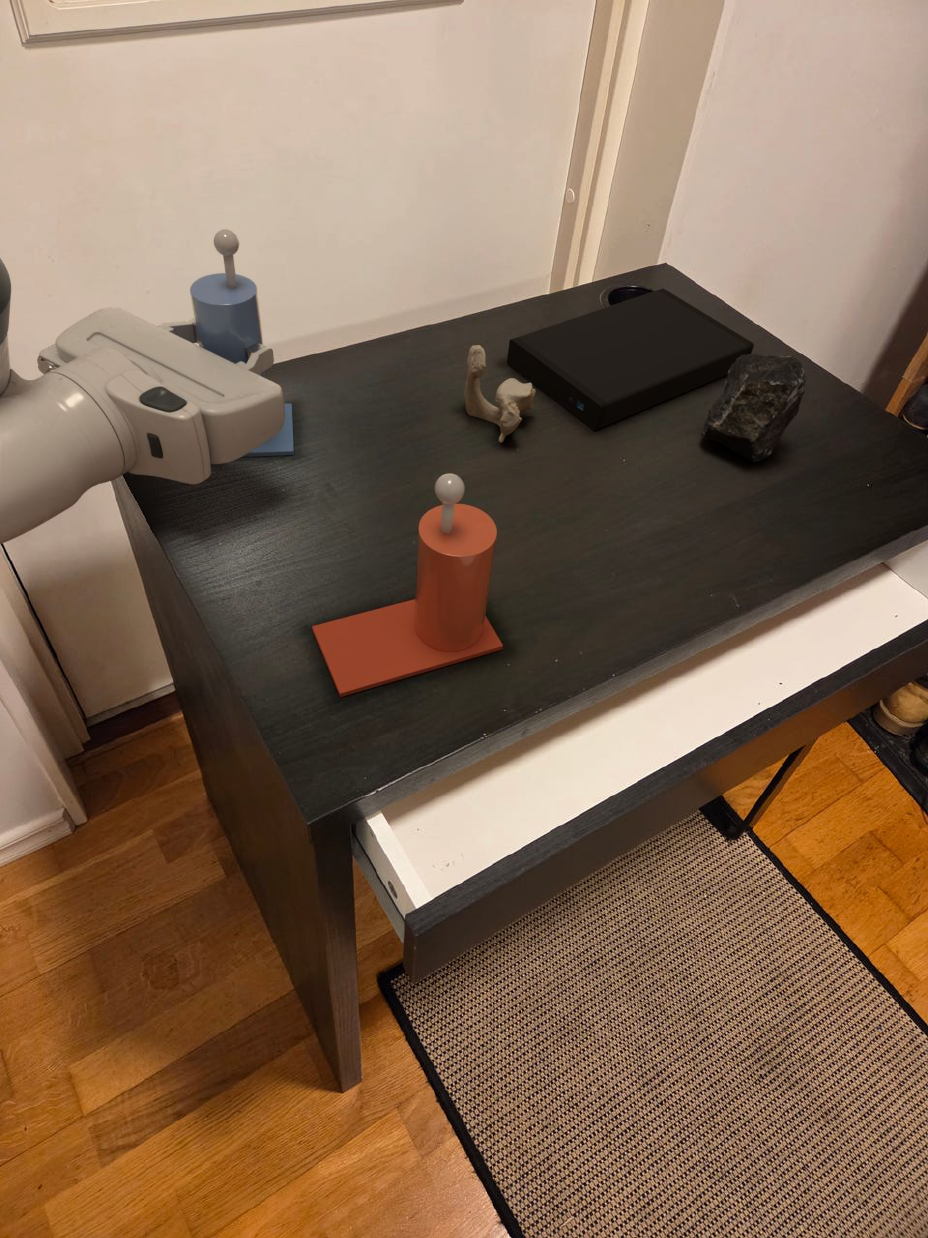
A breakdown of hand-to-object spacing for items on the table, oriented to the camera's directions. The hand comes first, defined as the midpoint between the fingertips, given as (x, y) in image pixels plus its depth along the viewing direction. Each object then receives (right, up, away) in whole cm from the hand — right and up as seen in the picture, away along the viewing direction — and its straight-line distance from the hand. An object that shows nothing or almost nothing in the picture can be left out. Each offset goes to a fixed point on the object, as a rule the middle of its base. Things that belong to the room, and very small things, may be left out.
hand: (238, 339), depth 75 cm
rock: (+47, -7, +11) cm, 49 cm away
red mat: (+15, -26, -9) cm, 32 cm away
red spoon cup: (+19, -25, -9) cm, 32 cm away
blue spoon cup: (-1, -4, +3) cm, 5 cm away
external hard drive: (+38, +3, +19) cm, 43 cm away
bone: (+24, -5, +10) cm, 26 cm away
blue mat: (-1, -7, +6) cm, 9 cm away
